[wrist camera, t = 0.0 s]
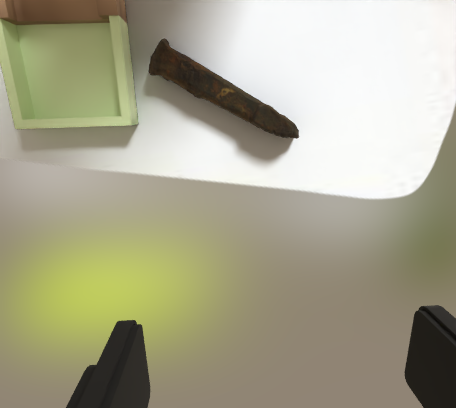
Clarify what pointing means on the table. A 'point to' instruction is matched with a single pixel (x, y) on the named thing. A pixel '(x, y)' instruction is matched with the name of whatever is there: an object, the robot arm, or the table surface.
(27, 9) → the slot board
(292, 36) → the table surface
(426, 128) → the table surface
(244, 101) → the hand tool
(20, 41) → the tray
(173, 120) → the table surface
